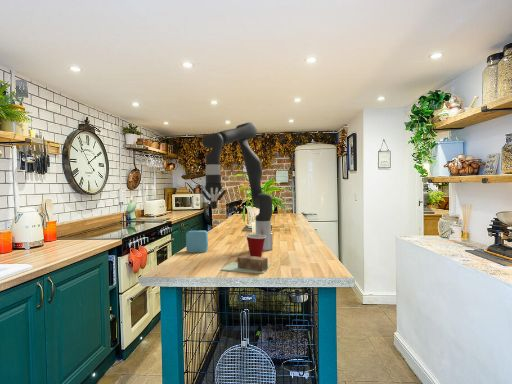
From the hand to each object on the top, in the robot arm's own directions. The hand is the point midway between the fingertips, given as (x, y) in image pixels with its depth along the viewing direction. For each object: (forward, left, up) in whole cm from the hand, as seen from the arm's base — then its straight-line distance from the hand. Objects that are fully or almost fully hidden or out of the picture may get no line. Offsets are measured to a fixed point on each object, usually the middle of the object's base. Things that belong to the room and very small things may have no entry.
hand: (213, 208), depth 159 cm
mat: (-12, +15, -27) cm, 33 cm away
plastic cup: (-23, -3, -27) cm, 36 cm away
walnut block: (-10, +14, -24) cm, 29 cm away
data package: (+4, -31, -27) cm, 42 cm away
